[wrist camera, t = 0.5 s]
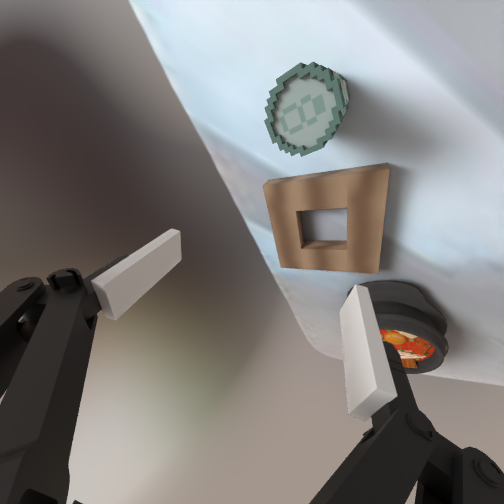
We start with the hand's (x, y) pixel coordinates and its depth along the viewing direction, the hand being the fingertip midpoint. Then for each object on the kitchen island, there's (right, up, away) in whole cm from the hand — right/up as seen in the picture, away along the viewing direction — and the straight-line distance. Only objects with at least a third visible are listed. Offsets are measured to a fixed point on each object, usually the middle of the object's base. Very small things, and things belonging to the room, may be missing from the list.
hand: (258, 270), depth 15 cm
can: (+9, +21, +12) cm, 26 cm away
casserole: (+29, -13, +30) cm, 44 cm away
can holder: (+13, +7, +22) cm, 27 cm away
